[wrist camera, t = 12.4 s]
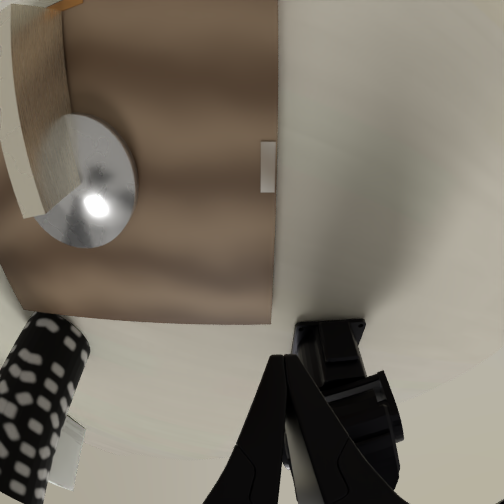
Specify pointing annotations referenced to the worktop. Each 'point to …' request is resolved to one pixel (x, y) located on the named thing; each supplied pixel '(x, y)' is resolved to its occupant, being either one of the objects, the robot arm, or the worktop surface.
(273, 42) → the dial plate
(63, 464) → the skincare box
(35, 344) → the white-spotted black cylinder
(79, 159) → the cream block with dome
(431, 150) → the worktop surface
